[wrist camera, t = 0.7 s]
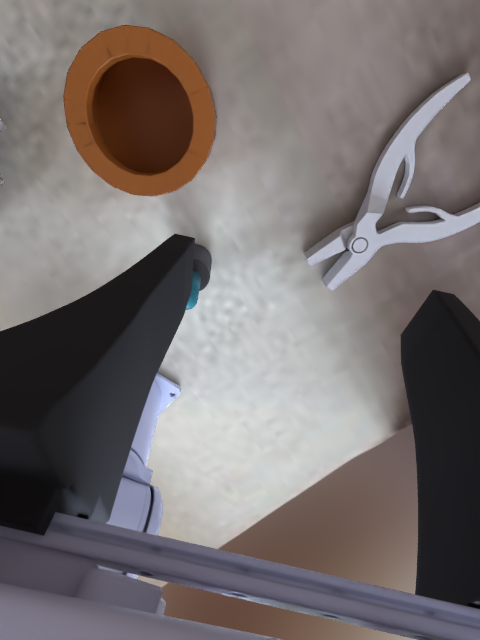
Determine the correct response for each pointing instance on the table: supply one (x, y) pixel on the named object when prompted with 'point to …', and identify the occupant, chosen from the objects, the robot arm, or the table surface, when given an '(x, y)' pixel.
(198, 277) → the brush
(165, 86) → the orange flowerpot
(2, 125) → the seashell
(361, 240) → the pliers
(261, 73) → the table surface
